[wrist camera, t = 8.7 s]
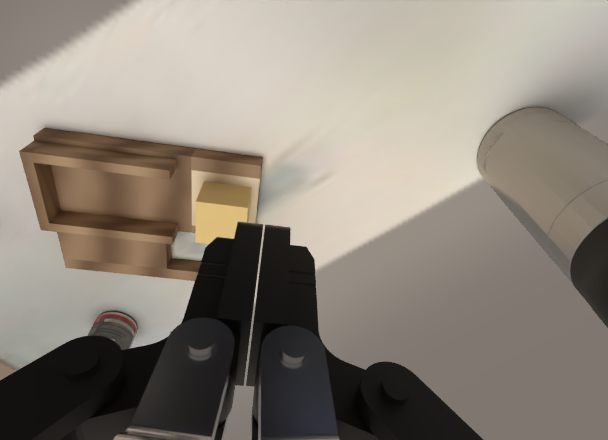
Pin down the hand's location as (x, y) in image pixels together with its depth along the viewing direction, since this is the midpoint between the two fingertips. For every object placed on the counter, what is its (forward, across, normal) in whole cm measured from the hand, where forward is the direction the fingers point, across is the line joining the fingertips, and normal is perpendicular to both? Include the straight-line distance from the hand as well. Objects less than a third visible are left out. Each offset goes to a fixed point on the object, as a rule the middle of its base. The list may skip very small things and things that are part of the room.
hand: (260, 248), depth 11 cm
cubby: (+27, +16, +16) cm, 35 cm away
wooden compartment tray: (+29, +12, +20) cm, 37 cm away
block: (+27, +4, +16) cm, 32 cm away
